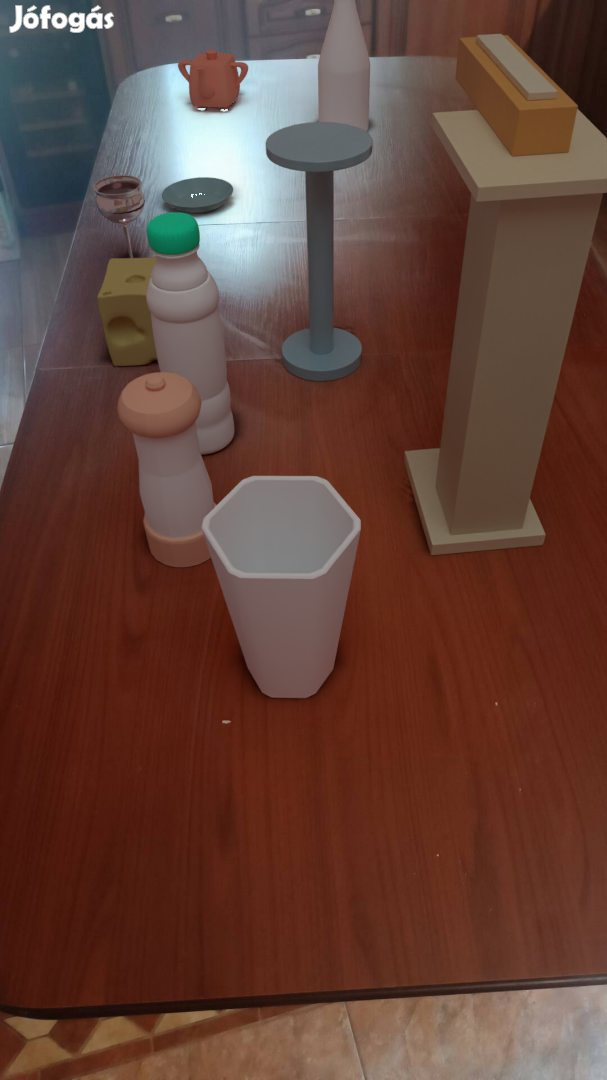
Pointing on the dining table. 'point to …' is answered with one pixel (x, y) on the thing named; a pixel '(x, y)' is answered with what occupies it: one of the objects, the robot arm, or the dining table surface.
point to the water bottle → (189, 323)
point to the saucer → (182, 190)
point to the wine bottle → (344, 69)
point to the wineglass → (120, 201)
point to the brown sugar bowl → (213, 79)
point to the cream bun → (515, 96)
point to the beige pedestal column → (506, 331)
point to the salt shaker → (169, 465)
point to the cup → (285, 576)
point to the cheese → (127, 311)
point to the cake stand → (320, 242)
